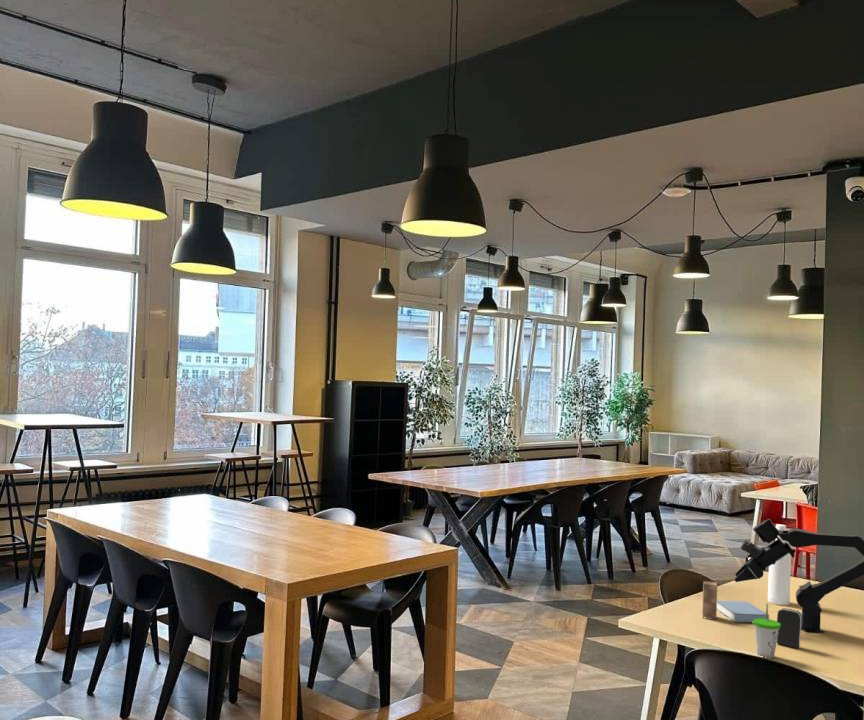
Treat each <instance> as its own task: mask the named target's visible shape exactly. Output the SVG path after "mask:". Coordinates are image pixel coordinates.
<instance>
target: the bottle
mask: <svg viewBox="0 0 864 720" xmlns="http://www.w3.org/2000/svg"><path fill="white" fill-rule="evenodd" d="M775 527H776V528H777V529H778V530H782V531H787V525H785V524H779V523H778V524H777V523H776V524H775ZM778 537H779V535H778ZM779 538H780V537H779ZM780 539H781V538H780ZM776 540H777V538H776V539H775V540H774V541H776ZM781 541H782V542H783V543H784V542H787V541H784V540H782V539H781ZM791 561H792V556H791V555H790V554H787V555H786V556H784V557H783V558H781V559H780V560H778V561H777V562H776V563H775V564H774V565H773V564H772V565H771V566H769V567H768V581H767V582H768V584H767V588H768V589H767V602H768V603H769V602H770V603H769V604H772V603H773V605H776V604H778V605H777V606H789V605H790V601H791V573H792V572H791V571H792V570H791V568H792V562H791Z"/></svg>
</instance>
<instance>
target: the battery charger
mask: <svg viewBox="0 0 864 720" xmlns="http://www.w3.org/2000/svg"><path fill="white" fill-rule="evenodd" d="M776 621H777V622H779V623H780V624H781V627H780V628H779V632H778V637H777V643H776V645H781V646H784V647H789V648H794V649H800V647H801V632H802V631H801V630H802V629H801V628H802V612H800V611H799V610H796V609H791V608H784V607H783V608H780V609H778V611H777V616H776Z"/></svg>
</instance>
